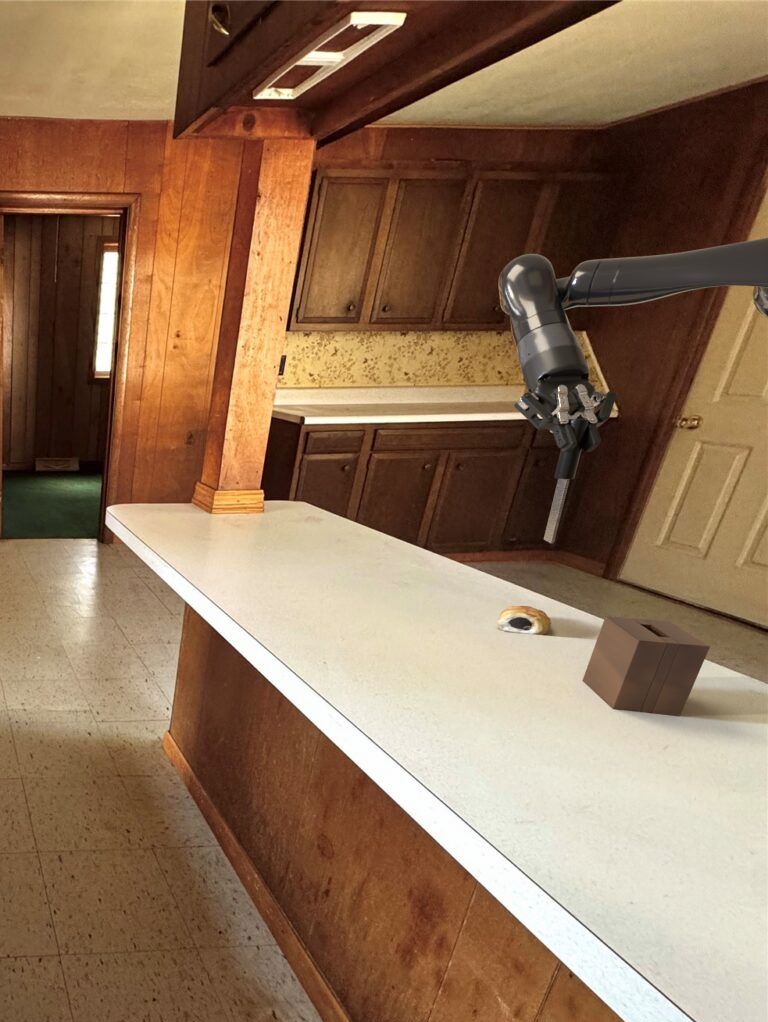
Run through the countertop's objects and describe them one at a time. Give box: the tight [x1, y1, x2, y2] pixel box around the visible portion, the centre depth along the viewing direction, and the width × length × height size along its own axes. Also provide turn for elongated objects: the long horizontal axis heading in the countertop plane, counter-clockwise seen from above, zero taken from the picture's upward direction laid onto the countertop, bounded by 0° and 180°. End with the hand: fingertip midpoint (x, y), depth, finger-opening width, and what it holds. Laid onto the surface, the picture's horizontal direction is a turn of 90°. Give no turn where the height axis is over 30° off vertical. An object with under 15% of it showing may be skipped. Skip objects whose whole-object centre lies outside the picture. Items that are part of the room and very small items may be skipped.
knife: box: [543, 418, 589, 544], centre depth 104 cm, size 2×3×19 cm
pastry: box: [496, 605, 552, 636], centre depth 112 cm, size 9×7×4 cm
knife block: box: [582, 615, 711, 717], centre depth 88 cm, size 7×8×11 cm
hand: (581, 448), depth 101 cm, fingers closed on knife, 2 cm apart
